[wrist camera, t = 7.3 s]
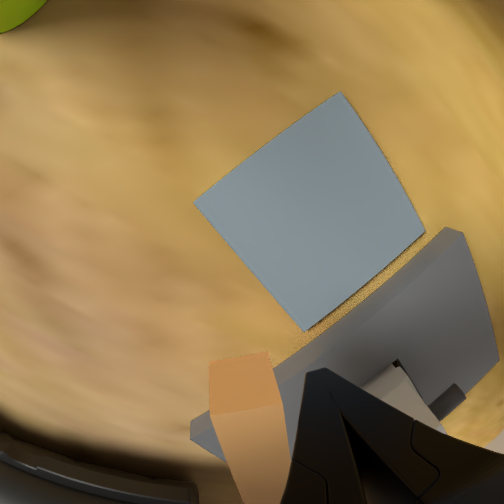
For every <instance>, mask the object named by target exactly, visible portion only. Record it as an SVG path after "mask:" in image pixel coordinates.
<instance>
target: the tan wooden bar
mask: <svg viewBox="0 0 504 504" xmlns="http://www.w3.org/2000/svg"><path fill="white" fill-rule="evenodd" d="M209 404H210V418H211V421H212V423H213V426H214V429H215V432H216V435H217V437H218V440H219V443H220V445H221V448H222V451H223V453H224V456H225V459H226V461H227V464H228V466H229V469H230V471H231V474H232V476H233V479H234V481H235V484H236V486H237V489H238V491H239V493H240V496H241V498H242V500H243V503H244V504H280V501H281V498H282V496H283V493H284V490H285V486H286V482H287V478H288V474H289V469H290V464H291V458H290V451H289V444H288V437H287V430H286V423H285V416H284V409H283V402H282V399H281V396H280V392H279V389H278V386H277V382H276V379H275V376H274V372H273V369H272V365H271V362H270V359H269V355H268V352H267V351H266V352H261V353H256V354H251V355H245V356H240V357H234V358H229V359H223V360H217V361H210V362H209Z"/></svg>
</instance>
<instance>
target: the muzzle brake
mask: <svg viewBox="0 0 504 504" xmlns="http://www.w3.org/2000/svg"><path fill="white" fill-rule="evenodd" d="M0 504H199V495H198V488H197V485H196V484H195V483H194V482H188V481H179V480H171V479H161V478H155V477H148V476H143V475H139V474H134V473H129V472H124V471H120V470H115V469H111V468H107V467H102V466H98V465H93V464H89V463H85V462H82V461H78V460H75V459H72V458H69V457H67V456H63V455H60V454H57V453H54V452H51V451H48V450H46V449H43V448H40V447H37V446H35V445H31V444H28V443H26V442H23V441H21V440H18V439H16V438H14V437H12V436H10V435H8V434H5V433H3V432H1V431H0Z"/></svg>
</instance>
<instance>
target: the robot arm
mask: <svg viewBox="0 0 504 504" xmlns="http://www.w3.org/2000/svg"><path fill="white" fill-rule="evenodd" d="M280 504H504V454H501V453H497V452H494V451H491V450H488V449H485V448H482V447H479V446H476V445H473V444H470V443H467V442H464V441H462V440H459V439H456V438H454V437H451V436H449V435H446V434H444V433H442V432H440V431H438V430H436V429H433V428H431V427H429V426H427V425H426V424H424V423H422V422H420V421H418V420H414V418H412V417H411V416H409V415H407V414H405V413H403V412H402V411H400V410H398V409H396V408H394V407H393V406H391V405H389V404H387V403H386V402H384V401H382V400H380V399H379V398H377V397H375V396H374V395H372V394H370V393H368V392H367V391H365V390H363V389H362V388H360V387H358V386H356V385H355V384H353V383H351V382H350V381H348V380H346V379H345V378H343V377H341V376H340V375H338V374H336V373H335V372H333V371H332V370H330V369H328V368H326V367H323V368H319V369H316V370H312V371H308V372H306V374H305V380H304V387H303V394H302V401H301V407H300V413H299V420H298V426H297V432H296V438H295V443H294V449H293V454H292V461H291V464H290V469H289V474H288V478H287V482H286V486H285V490H284V493H283V496H282V498H281V501H280Z"/></svg>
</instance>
